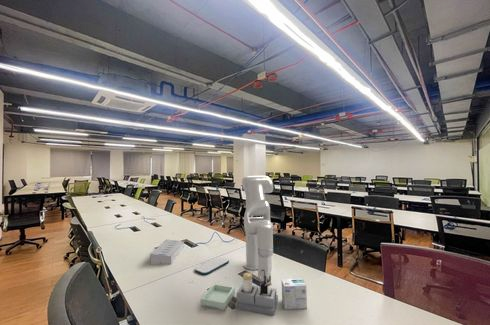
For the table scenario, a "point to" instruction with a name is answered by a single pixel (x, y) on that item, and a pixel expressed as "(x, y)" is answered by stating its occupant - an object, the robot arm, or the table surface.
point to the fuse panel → (256, 301)
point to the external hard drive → (211, 265)
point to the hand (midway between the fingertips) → (265, 288)
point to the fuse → (247, 283)
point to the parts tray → (218, 297)
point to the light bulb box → (294, 293)
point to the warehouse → (166, 252)
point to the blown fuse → (268, 287)
